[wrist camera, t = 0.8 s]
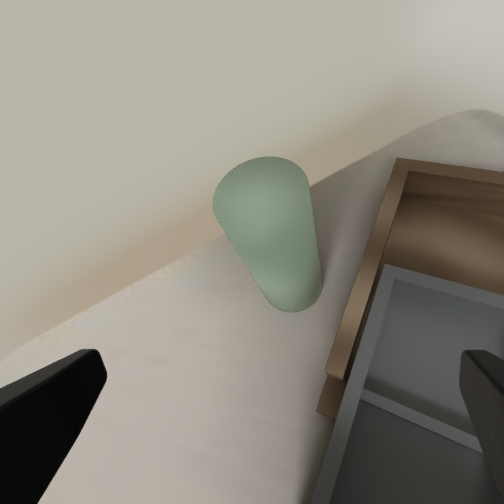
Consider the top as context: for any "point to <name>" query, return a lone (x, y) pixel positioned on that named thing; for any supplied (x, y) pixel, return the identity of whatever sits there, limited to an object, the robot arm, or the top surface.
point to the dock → (423, 247)
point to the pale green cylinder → (273, 229)
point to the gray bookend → (413, 398)
